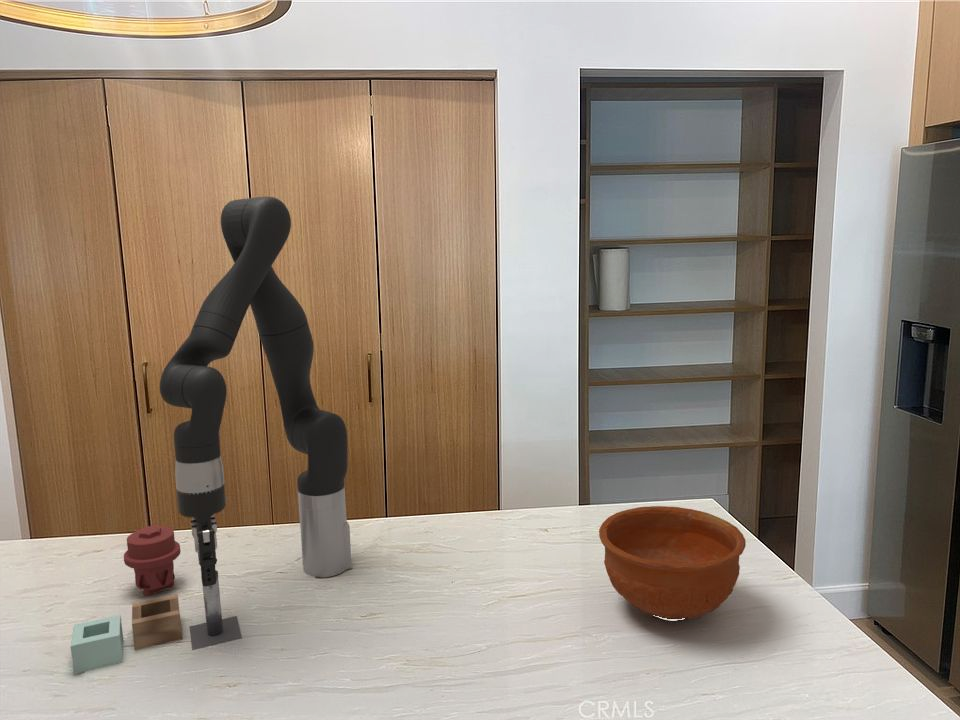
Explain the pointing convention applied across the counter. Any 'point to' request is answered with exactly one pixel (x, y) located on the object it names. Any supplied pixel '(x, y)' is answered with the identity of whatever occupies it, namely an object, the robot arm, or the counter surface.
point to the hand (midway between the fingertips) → (207, 573)
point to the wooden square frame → (156, 621)
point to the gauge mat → (204, 640)
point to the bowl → (671, 559)
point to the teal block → (97, 643)
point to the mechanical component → (152, 558)
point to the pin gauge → (213, 608)
